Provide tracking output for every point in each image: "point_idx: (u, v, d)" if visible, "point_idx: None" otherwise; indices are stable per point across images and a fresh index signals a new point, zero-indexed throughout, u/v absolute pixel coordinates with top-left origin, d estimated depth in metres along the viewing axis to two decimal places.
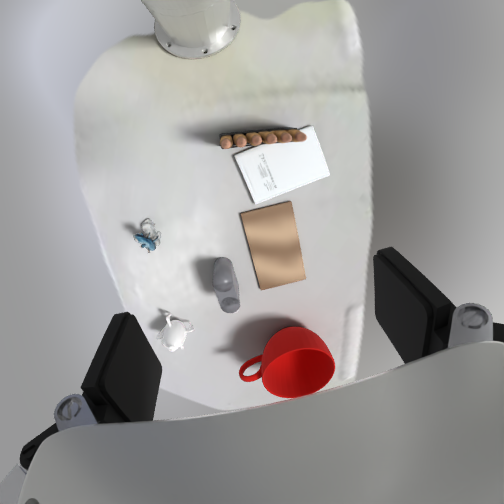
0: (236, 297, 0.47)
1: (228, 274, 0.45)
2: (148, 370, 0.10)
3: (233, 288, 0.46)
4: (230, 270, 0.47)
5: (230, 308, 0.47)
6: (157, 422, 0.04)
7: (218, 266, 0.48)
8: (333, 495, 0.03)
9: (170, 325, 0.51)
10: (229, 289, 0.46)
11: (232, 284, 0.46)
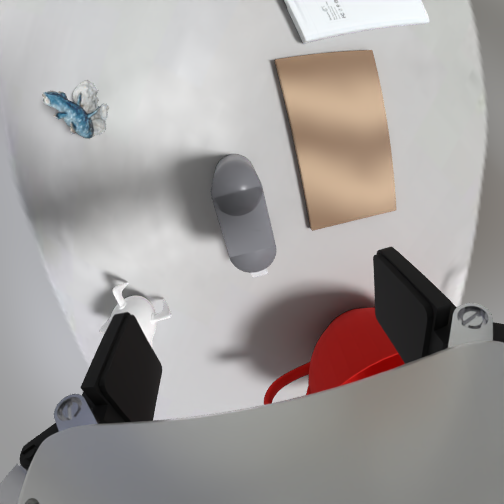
0: (269, 230, 0.19)
1: (250, 169, 0.18)
2: (148, 370, 0.10)
3: (262, 205, 0.18)
4: (253, 169, 0.20)
5: (253, 259, 0.20)
6: (157, 422, 0.04)
7: (226, 161, 0.20)
8: (333, 495, 0.03)
9: (121, 304, 0.24)
10: (252, 208, 0.18)
11: (260, 194, 0.18)
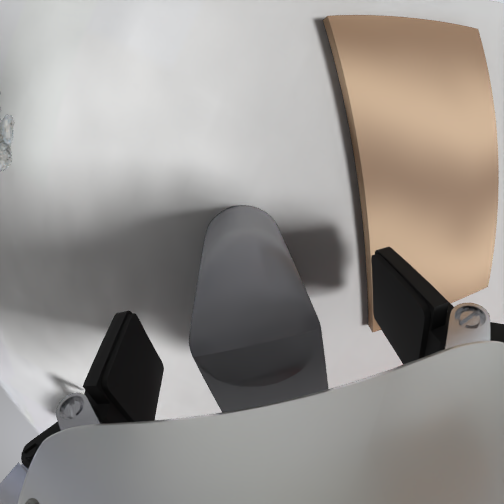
0: None
1: (292, 284, 0.07)
2: (150, 369, 0.10)
3: (317, 366, 0.07)
4: (290, 259, 0.09)
5: None
6: (157, 422, 0.04)
7: (227, 238, 0.09)
8: (333, 495, 0.03)
9: None
10: (293, 372, 0.07)
11: (315, 346, 0.07)
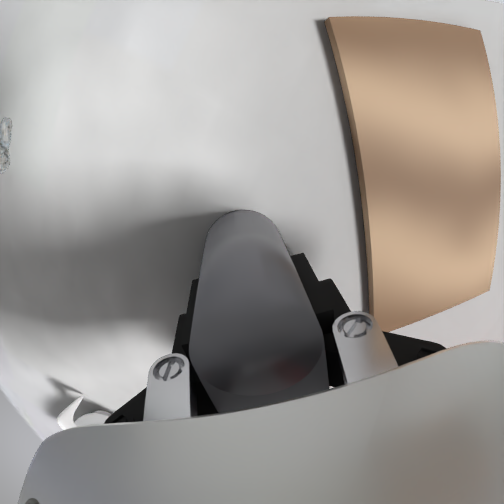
0: None
1: (294, 292, 0.07)
2: None
3: (319, 374, 0.07)
4: (292, 266, 0.08)
5: None
6: (157, 422, 0.04)
7: (227, 244, 0.09)
8: (333, 495, 0.03)
9: None
10: (294, 381, 0.07)
11: (318, 354, 0.07)
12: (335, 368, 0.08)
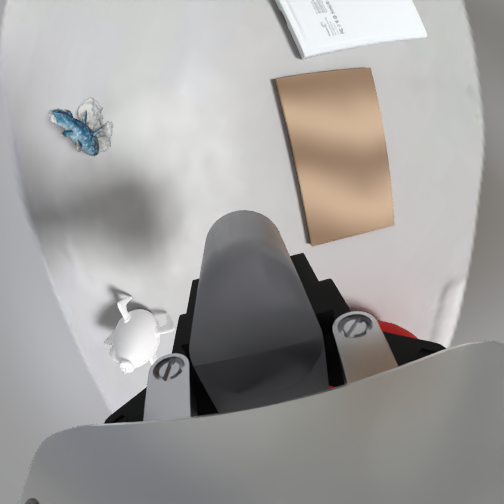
0: None
1: (294, 292, 0.07)
2: None
3: (319, 374, 0.07)
4: (292, 266, 0.08)
5: None
6: (157, 422, 0.04)
7: (227, 244, 0.09)
8: (333, 495, 0.03)
9: (126, 318, 0.24)
10: (294, 381, 0.07)
11: (317, 354, 0.07)
12: (335, 368, 0.08)
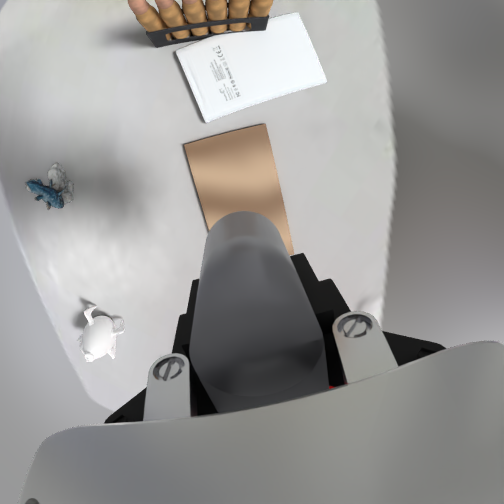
0: None
1: (294, 294, 0.07)
2: None
3: (319, 375, 0.07)
4: (292, 267, 0.08)
5: None
6: (157, 422, 0.04)
7: (227, 245, 0.09)
8: (333, 495, 0.03)
9: (90, 322, 0.32)
10: (295, 382, 0.07)
11: (318, 355, 0.07)
12: (335, 368, 0.08)
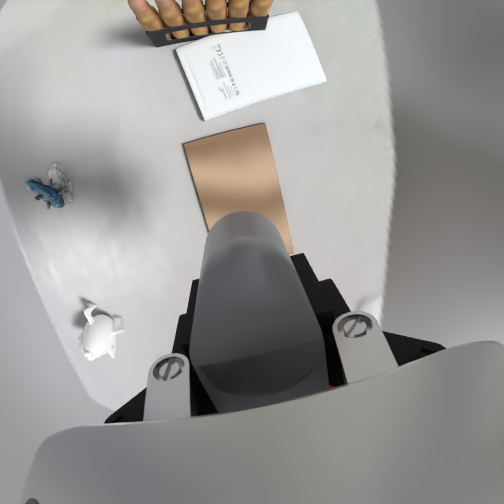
0: None
1: (294, 294, 0.07)
2: None
3: (319, 375, 0.07)
4: (292, 267, 0.08)
5: None
6: (157, 422, 0.04)
7: (227, 245, 0.09)
8: (333, 495, 0.03)
9: (90, 321, 0.32)
10: (294, 382, 0.07)
11: (318, 355, 0.07)
12: (335, 368, 0.08)
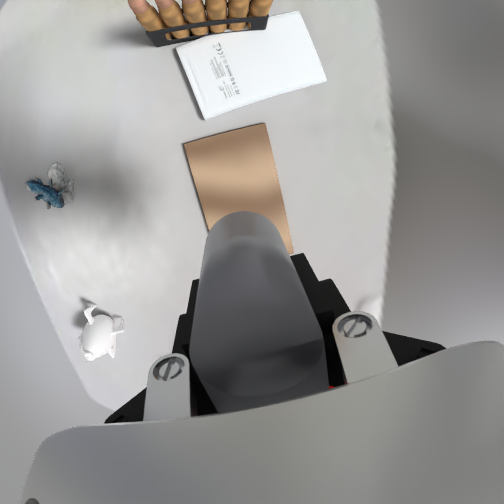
0: None
1: (294, 294, 0.07)
2: None
3: (319, 375, 0.07)
4: (292, 267, 0.08)
5: None
6: (157, 422, 0.04)
7: (227, 245, 0.09)
8: (333, 495, 0.03)
9: (90, 321, 0.32)
10: (294, 382, 0.07)
11: (318, 355, 0.07)
12: (335, 368, 0.08)
